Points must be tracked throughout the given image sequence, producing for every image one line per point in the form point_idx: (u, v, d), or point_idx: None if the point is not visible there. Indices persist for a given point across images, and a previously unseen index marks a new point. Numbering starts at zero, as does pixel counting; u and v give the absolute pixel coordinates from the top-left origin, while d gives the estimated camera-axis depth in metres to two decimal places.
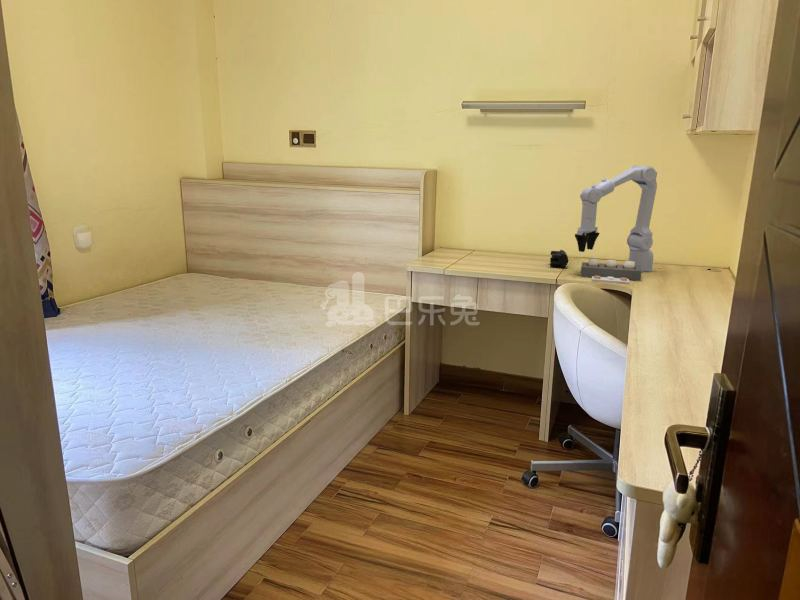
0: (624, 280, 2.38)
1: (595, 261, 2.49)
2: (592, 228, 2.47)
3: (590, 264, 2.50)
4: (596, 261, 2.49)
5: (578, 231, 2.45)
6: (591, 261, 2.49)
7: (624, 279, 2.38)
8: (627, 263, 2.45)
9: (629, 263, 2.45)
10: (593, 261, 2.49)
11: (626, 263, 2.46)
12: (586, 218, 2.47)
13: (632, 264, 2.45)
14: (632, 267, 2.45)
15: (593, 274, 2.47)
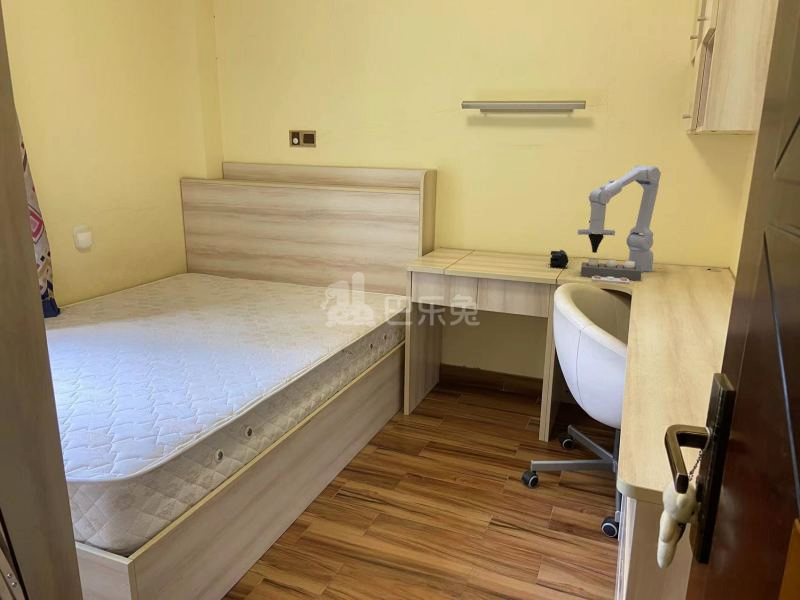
0: (624, 280, 2.38)
1: (595, 261, 2.49)
2: (594, 230, 2.45)
3: (590, 264, 2.50)
4: (596, 261, 2.49)
5: None
6: (591, 261, 2.49)
7: (624, 279, 2.38)
8: (627, 263, 2.45)
9: (629, 263, 2.45)
10: (593, 261, 2.49)
11: (626, 263, 2.46)
12: (590, 219, 2.46)
13: (632, 264, 2.45)
14: (632, 267, 2.45)
15: (593, 274, 2.47)
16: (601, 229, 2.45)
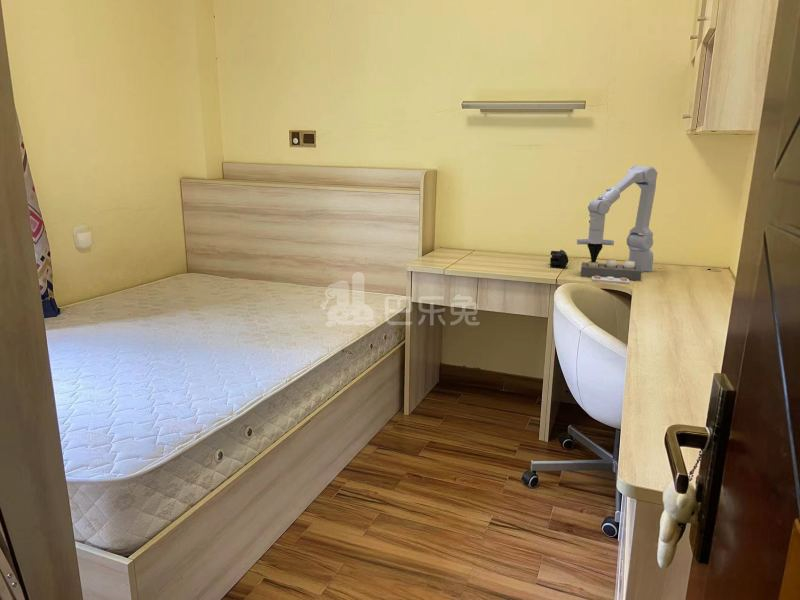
0: (624, 280, 2.38)
1: (595, 264, 2.49)
2: (593, 240, 2.46)
3: None
4: (596, 264, 2.49)
5: (577, 240, 2.50)
6: (591, 264, 2.50)
7: (624, 279, 2.38)
8: (627, 263, 2.45)
9: (629, 263, 2.45)
10: (593, 264, 2.49)
11: (626, 263, 2.46)
12: (589, 229, 2.47)
13: (632, 264, 2.45)
14: (632, 267, 2.45)
15: (593, 274, 2.47)
16: (600, 239, 2.46)
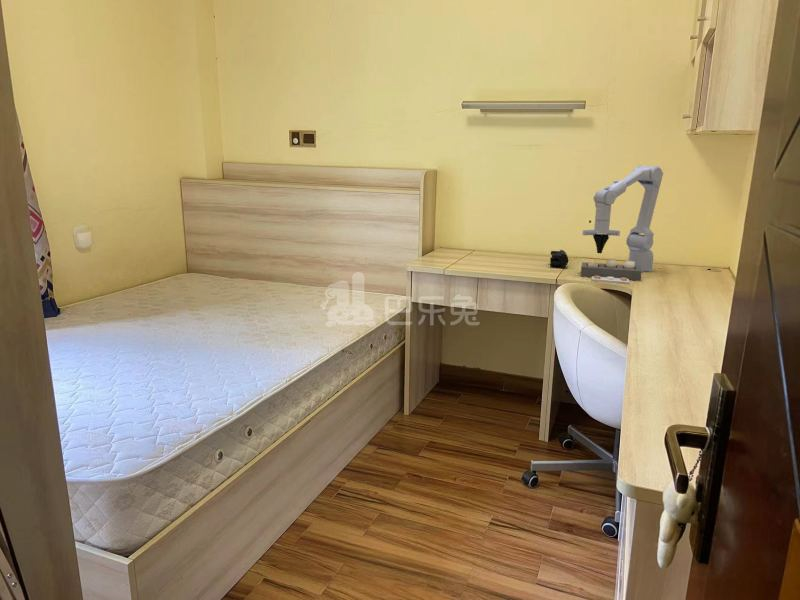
0: (624, 280, 2.38)
1: None
2: (600, 230, 2.45)
3: None
4: (596, 266, 2.50)
5: (583, 231, 2.48)
6: None
7: (624, 279, 2.38)
8: (627, 263, 2.45)
9: (629, 263, 2.45)
10: None
11: (626, 263, 2.46)
12: (595, 219, 2.46)
13: (632, 264, 2.45)
14: (632, 267, 2.45)
15: (593, 274, 2.47)
16: (606, 229, 2.45)
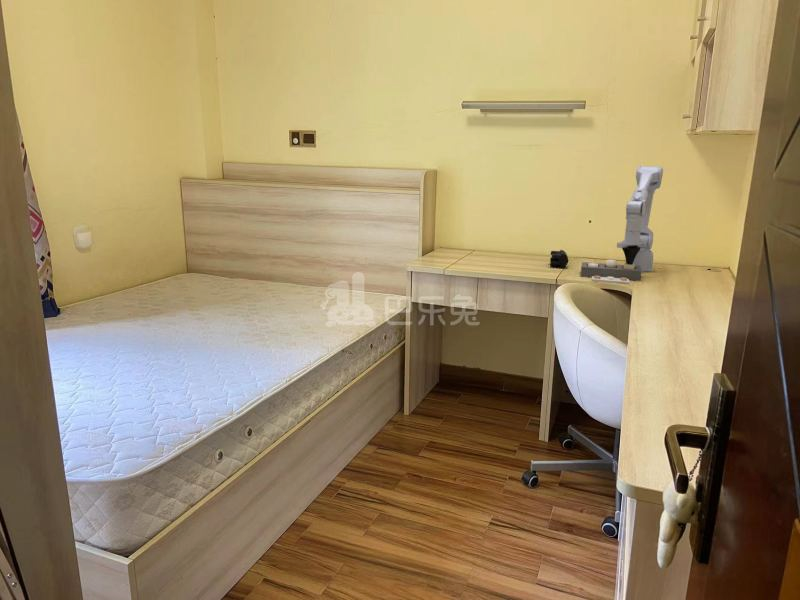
0: (624, 280, 2.38)
1: None
2: (635, 242, 2.42)
3: None
4: (596, 266, 2.50)
5: (618, 244, 2.42)
6: None
7: (624, 279, 2.38)
8: (627, 266, 2.46)
9: (628, 266, 2.45)
10: None
11: (626, 266, 2.46)
12: (628, 231, 2.42)
13: (632, 267, 2.45)
14: None
15: (593, 274, 2.47)
16: (639, 240, 2.43)
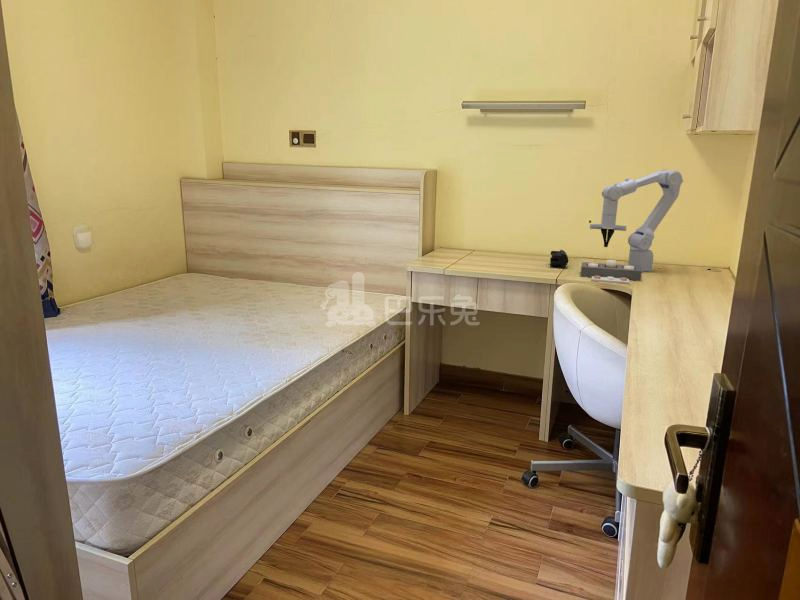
0: (624, 280, 2.38)
1: None
2: (605, 224, 2.54)
3: None
4: (596, 266, 2.50)
5: (590, 225, 2.59)
6: None
7: (624, 279, 2.38)
8: (626, 268, 2.46)
9: (628, 268, 2.45)
10: None
11: (625, 268, 2.46)
12: (602, 214, 2.55)
13: None
14: None
15: (593, 274, 2.47)
16: (612, 224, 2.53)
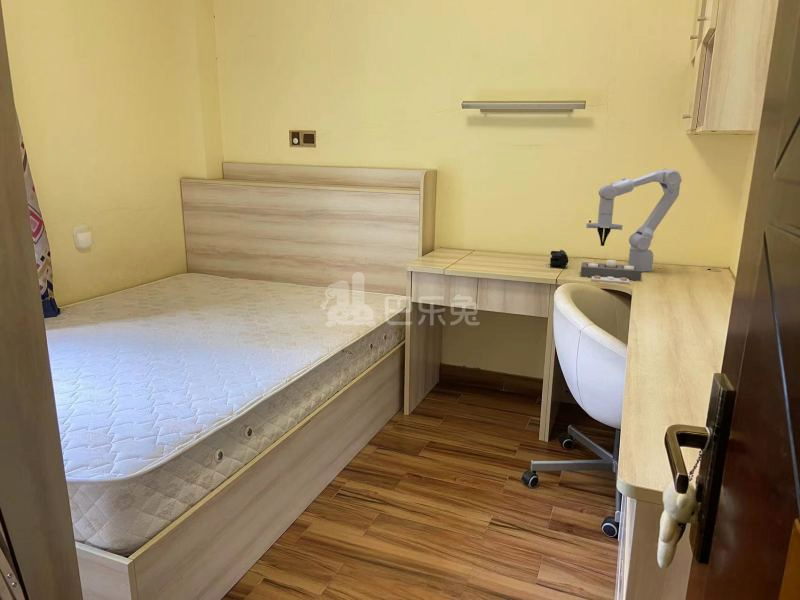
0: (624, 280, 2.38)
1: None
2: (601, 223, 2.56)
3: None
4: (596, 266, 2.50)
5: None
6: None
7: (624, 279, 2.38)
8: (626, 268, 2.46)
9: (628, 268, 2.45)
10: None
11: (625, 268, 2.46)
12: None
13: None
14: None
15: (593, 274, 2.47)
16: (608, 223, 2.55)
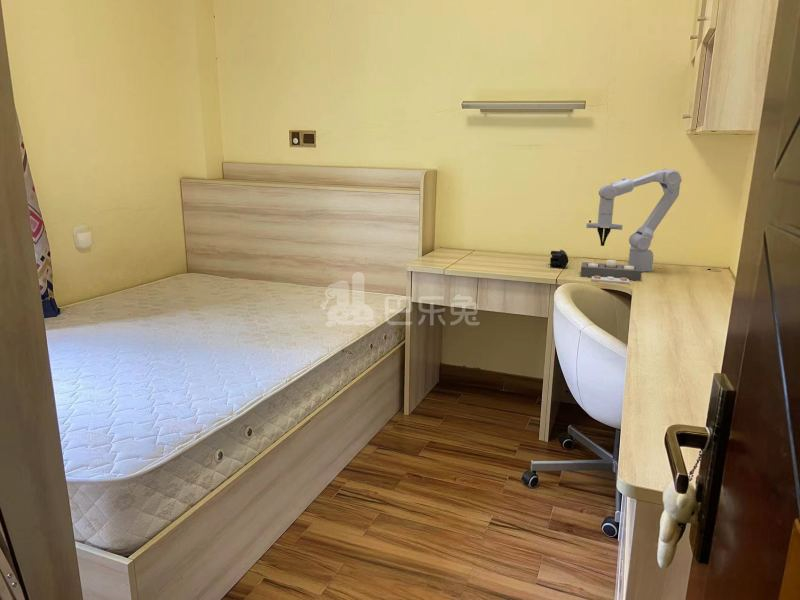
0: (624, 280, 2.38)
1: None
2: (601, 223, 2.56)
3: None
4: (596, 266, 2.50)
5: None
6: None
7: (624, 279, 2.38)
8: (626, 268, 2.46)
9: (628, 268, 2.45)
10: None
11: (625, 268, 2.46)
12: None
13: None
14: None
15: (593, 274, 2.47)
16: (608, 223, 2.55)
